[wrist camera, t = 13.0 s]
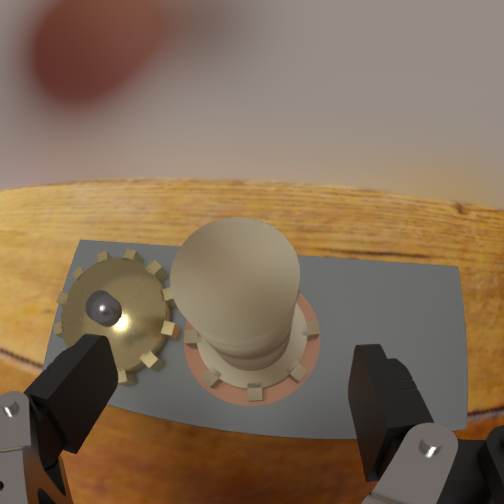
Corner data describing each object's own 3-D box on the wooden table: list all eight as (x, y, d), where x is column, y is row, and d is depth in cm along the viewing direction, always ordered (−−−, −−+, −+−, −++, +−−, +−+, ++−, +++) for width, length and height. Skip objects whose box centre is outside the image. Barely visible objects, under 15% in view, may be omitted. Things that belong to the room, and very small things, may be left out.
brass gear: (128, 236, 24) (113, 215, 21) (212, 316, 21) (202, 300, 18) (47, 319, 21) (24, 306, 18) (115, 415, 18) (92, 413, 15)
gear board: (449, 274, 22) (458, 266, 21) (455, 429, 17) (466, 428, 15) (88, 248, 26) (79, 239, 24) (51, 383, 20) (40, 380, 19)
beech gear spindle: (248, 259, 22) (230, 154, 13) (340, 330, 19) (391, 258, 11) (167, 343, 20) (88, 282, 11) (258, 427, 17) (241, 442, 8)
